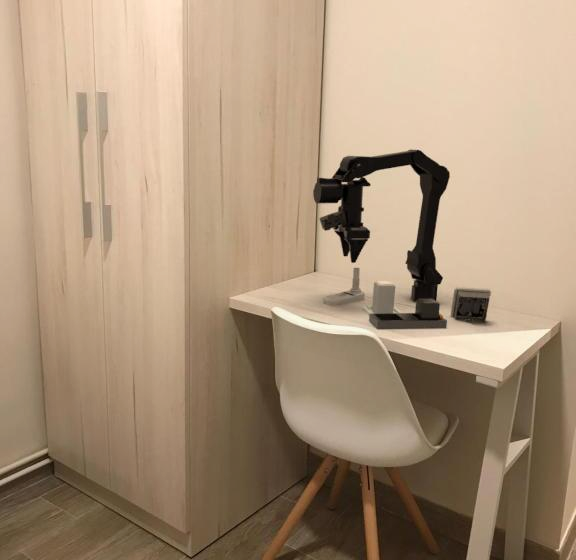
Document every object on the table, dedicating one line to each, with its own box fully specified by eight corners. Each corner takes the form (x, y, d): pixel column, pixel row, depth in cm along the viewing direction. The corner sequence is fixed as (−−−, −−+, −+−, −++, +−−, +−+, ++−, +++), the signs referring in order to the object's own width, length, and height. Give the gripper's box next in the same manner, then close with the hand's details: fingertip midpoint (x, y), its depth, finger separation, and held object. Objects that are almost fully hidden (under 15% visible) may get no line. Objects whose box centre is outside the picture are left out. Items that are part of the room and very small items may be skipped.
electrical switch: (485, 319, 167) (489, 286, 164) (489, 326, 162) (493, 293, 159) (449, 317, 168) (453, 284, 165) (452, 324, 163) (456, 291, 160)
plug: (387, 310, 170) (390, 280, 168) (393, 315, 166) (395, 284, 164) (372, 310, 169) (374, 280, 167) (376, 315, 165) (379, 284, 163)
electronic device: (320, 272, 173) (355, 265, 183) (319, 306, 176) (354, 297, 186) (334, 276, 170) (369, 268, 180) (333, 310, 172) (368, 301, 182)
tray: (393, 310, 172) (393, 306, 172) (403, 318, 164) (403, 313, 164) (362, 310, 171) (362, 306, 170) (370, 318, 163) (370, 314, 163)
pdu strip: (435, 322, 162) (437, 296, 161) (446, 330, 156) (448, 303, 154) (368, 322, 159) (370, 297, 158) (377, 331, 153) (378, 304, 151)
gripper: (316, 199, 177) (314, 253, 180) (329, 206, 159) (327, 266, 162) (354, 199, 178) (352, 253, 182) (371, 206, 160) (368, 266, 164)
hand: (349, 259), depth 172 cm, fingers open, 9 cm apart
